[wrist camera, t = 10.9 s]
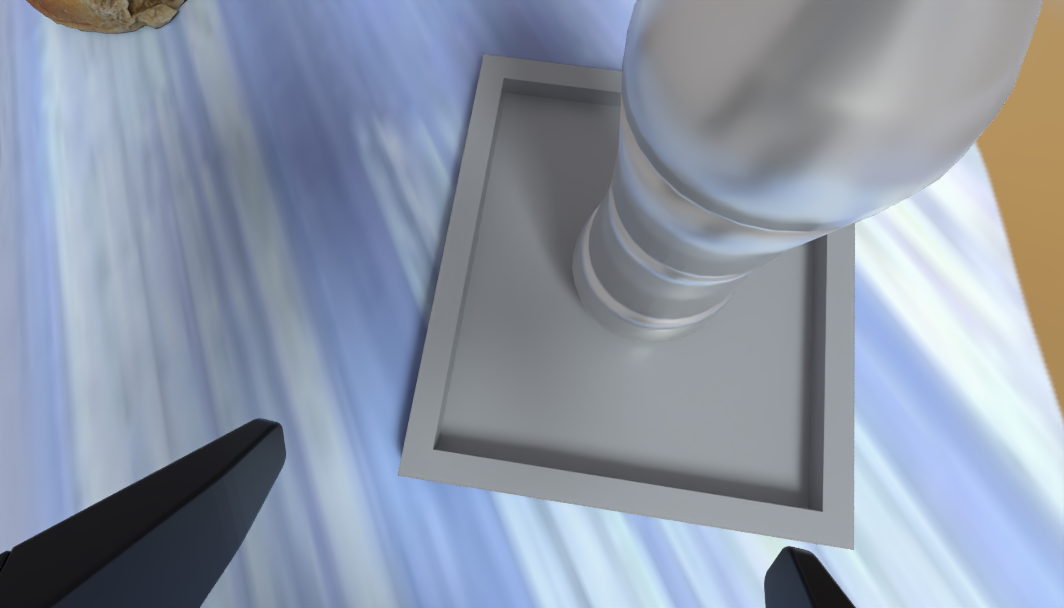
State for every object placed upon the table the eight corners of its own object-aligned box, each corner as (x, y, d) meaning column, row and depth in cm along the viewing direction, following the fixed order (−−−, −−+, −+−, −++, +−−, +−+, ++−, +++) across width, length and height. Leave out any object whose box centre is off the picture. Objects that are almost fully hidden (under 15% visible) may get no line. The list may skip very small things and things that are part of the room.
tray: (830, 540, 21) (853, 549, 20) (407, 472, 22) (397, 475, 21) (836, 119, 26) (855, 100, 24) (486, 75, 27) (483, 53, 25)
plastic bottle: (544, 250, 24) (575, -519, 4) (672, 193, 25) (1187, -702, 5) (607, 376, 23) (1050, 48, 3) (741, 312, 23) (1813, -296, 4)
